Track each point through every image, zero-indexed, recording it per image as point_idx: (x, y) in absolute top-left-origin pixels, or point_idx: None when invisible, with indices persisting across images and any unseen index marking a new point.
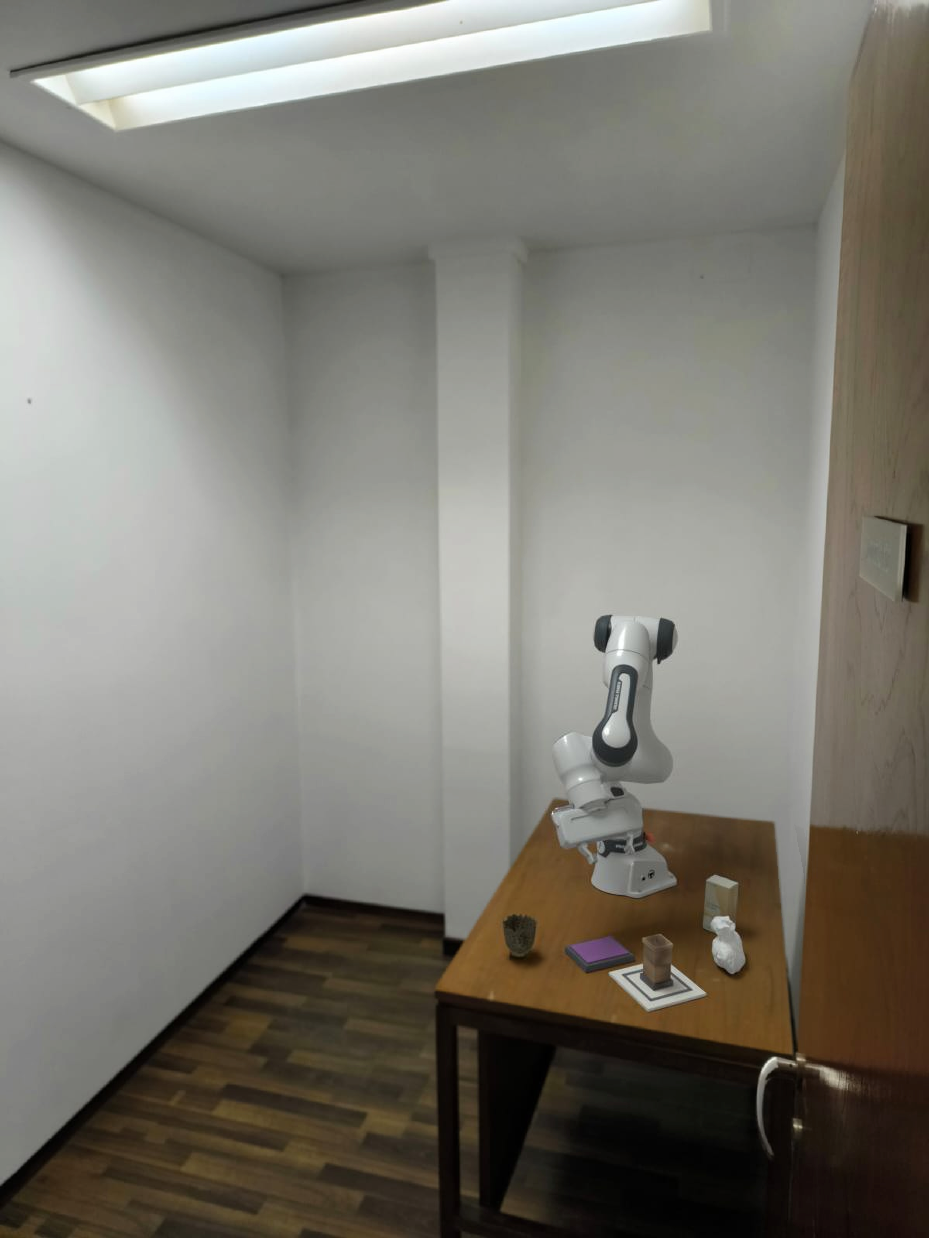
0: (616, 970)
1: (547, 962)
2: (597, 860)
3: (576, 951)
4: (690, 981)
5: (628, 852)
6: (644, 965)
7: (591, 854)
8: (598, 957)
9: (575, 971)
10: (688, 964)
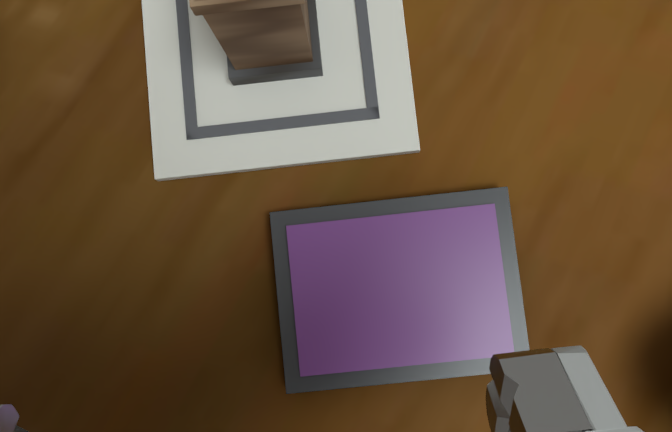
0: (384, 152)
1: (628, 308)
2: (499, 356)
3: (505, 300)
4: (148, 9)
5: (8, 421)
6: (308, 35)
7: (594, 421)
8: (431, 227)
9: (539, 212)
10: (80, 133)
